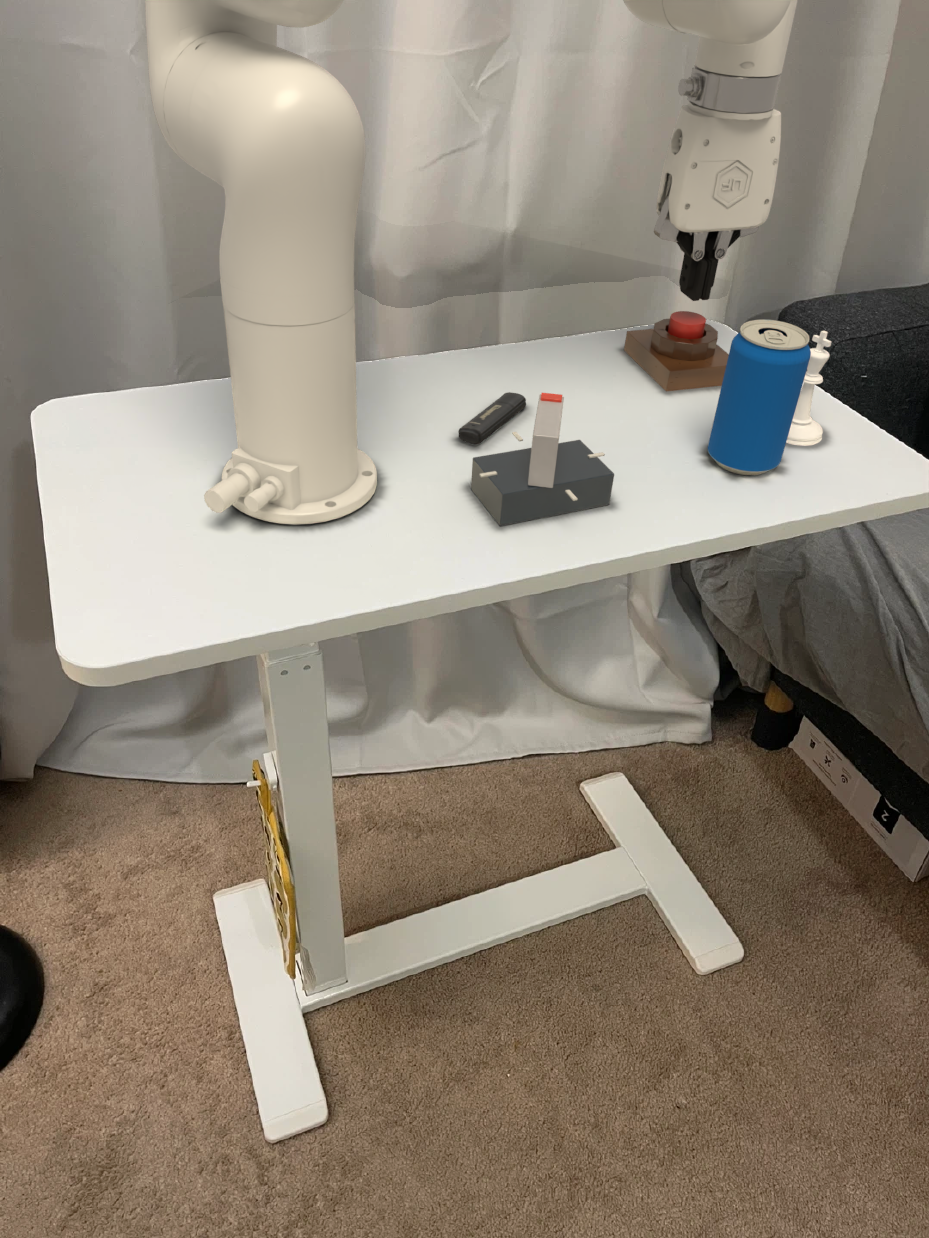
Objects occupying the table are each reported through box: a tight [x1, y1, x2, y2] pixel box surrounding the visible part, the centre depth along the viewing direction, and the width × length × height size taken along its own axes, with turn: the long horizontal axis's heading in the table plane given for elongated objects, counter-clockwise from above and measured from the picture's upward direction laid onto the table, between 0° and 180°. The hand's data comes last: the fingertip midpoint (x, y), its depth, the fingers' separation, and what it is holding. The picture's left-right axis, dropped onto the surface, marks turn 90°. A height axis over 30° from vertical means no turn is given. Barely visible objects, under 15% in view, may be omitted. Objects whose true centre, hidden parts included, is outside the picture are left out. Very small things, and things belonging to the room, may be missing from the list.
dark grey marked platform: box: [470, 431, 615, 527], centre depth 82 cm, size 11×11×3 cm
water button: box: [668, 310, 707, 339], centre depth 102 cm, size 4×4×2 cm
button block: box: [623, 318, 729, 393], centre depth 103 cm, size 10×8×4 cm
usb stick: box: [458, 391, 527, 445], centre depth 92 cm, size 10×3×2 cm, turn 150°
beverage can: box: [707, 319, 811, 476], centre depth 86 cm, size 6×6×12 cm
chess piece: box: [786, 330, 833, 447], centre depth 91 cm, size 5×5×10 cm
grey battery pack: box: [528, 392, 565, 488], centre depth 80 cm, size 7×2×5 cm, turn 172°
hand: (693, 295), depth 100 cm, fingers closed
